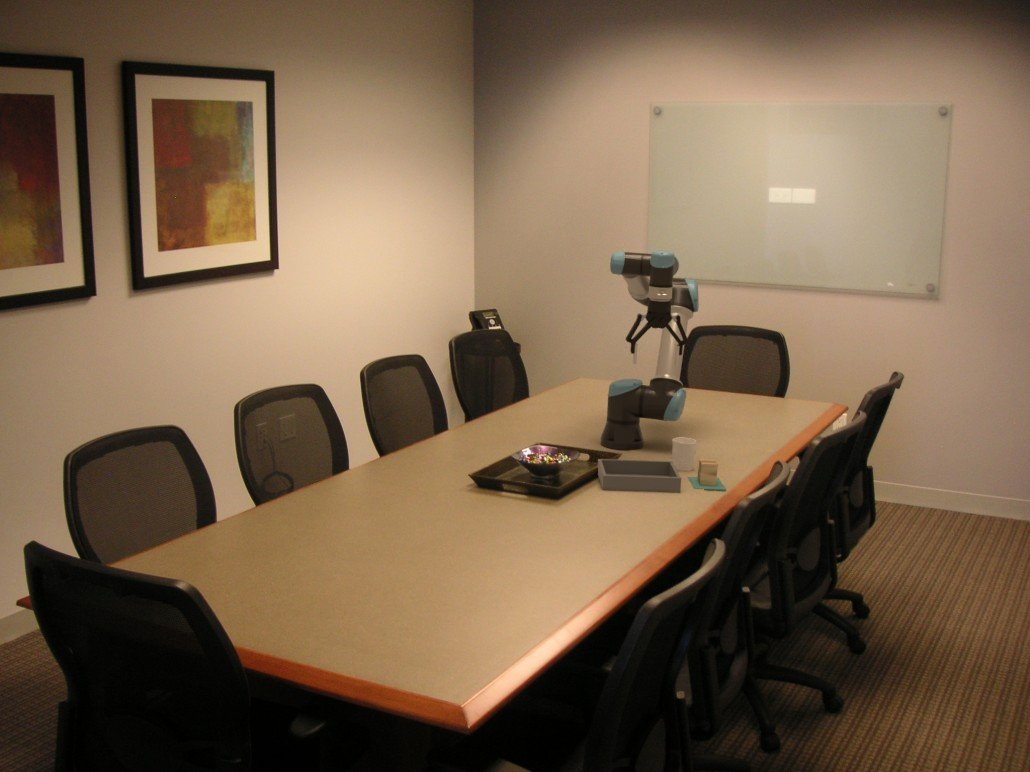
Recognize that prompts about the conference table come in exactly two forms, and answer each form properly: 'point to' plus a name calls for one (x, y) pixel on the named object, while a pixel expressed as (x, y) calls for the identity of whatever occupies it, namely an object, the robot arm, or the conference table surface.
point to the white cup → (683, 453)
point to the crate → (638, 475)
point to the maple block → (707, 472)
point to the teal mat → (696, 485)
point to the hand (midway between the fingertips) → (655, 364)
